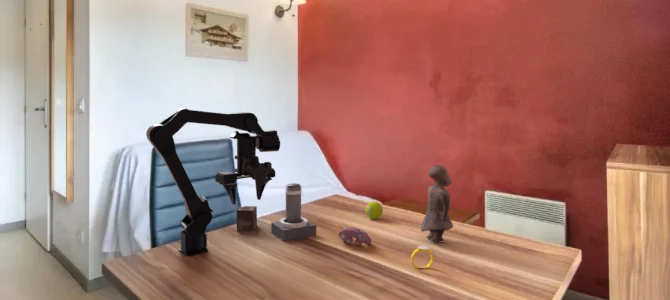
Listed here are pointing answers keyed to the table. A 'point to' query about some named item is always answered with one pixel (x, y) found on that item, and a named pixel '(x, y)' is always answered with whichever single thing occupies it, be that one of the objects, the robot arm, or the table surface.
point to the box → (246, 218)
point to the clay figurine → (438, 205)
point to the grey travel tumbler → (293, 203)
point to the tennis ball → (374, 210)
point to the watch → (423, 249)
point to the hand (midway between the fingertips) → (246, 201)
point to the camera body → (293, 229)
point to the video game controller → (354, 236)
